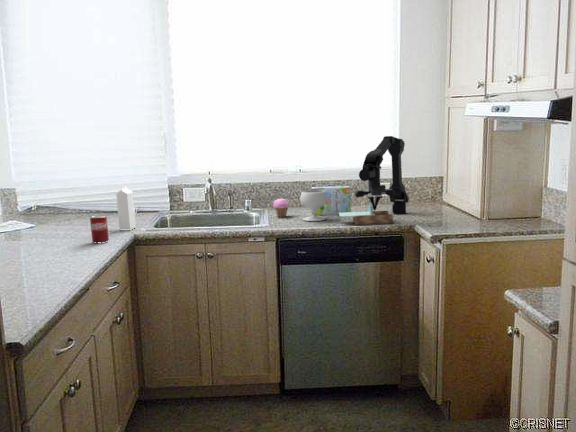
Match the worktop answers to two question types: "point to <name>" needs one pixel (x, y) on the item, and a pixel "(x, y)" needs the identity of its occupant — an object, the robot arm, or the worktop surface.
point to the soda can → (99, 228)
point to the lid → (358, 213)
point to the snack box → (335, 200)
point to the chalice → (313, 202)
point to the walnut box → (374, 218)
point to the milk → (126, 208)
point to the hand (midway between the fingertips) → (374, 210)
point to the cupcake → (281, 207)
